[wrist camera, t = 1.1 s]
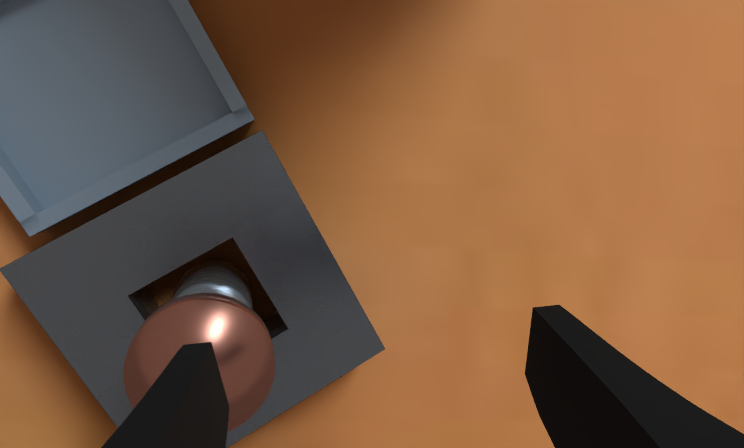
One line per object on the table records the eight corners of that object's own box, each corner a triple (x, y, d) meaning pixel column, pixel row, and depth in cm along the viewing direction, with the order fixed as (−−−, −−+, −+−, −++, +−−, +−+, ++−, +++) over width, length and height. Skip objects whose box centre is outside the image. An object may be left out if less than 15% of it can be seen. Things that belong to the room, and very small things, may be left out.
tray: (44, 230, 20) (29, 236, 18) (-96, 33, 18) (-125, 22, 16) (253, 121, 21) (254, 119, 20) (144, -74, 19) (136, -92, 18)
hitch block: (170, 451, 22) (162, 487, 20) (27, 254, 20) (-2, 269, 17) (370, 328, 24) (385, 348, 21) (259, 132, 21) (262, 130, 19)
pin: (196, 358, 22) (175, 465, 14) (144, 279, 21) (91, 351, 14) (280, 309, 23) (300, 388, 15) (232, 230, 22) (229, 273, 14)
